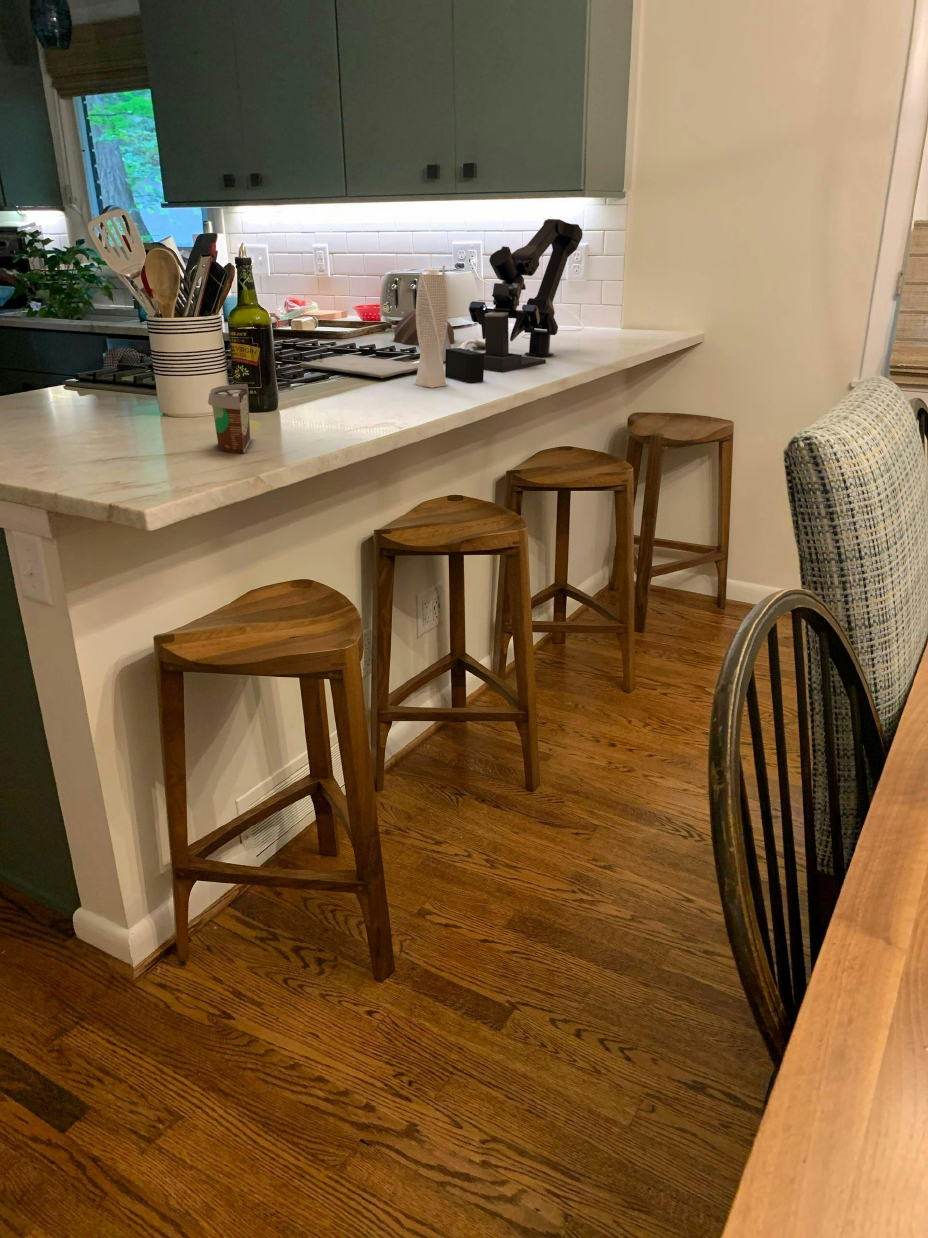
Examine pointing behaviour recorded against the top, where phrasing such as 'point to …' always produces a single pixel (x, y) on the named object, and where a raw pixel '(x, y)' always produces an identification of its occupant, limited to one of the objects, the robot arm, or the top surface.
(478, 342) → the spoon
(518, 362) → the dark grey tray
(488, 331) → the pad block
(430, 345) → the skyscraper
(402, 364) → the decorative slab
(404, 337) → the decorative dome
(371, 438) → the top surface
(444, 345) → the flask
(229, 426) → the food container
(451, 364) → the black rectangular block
